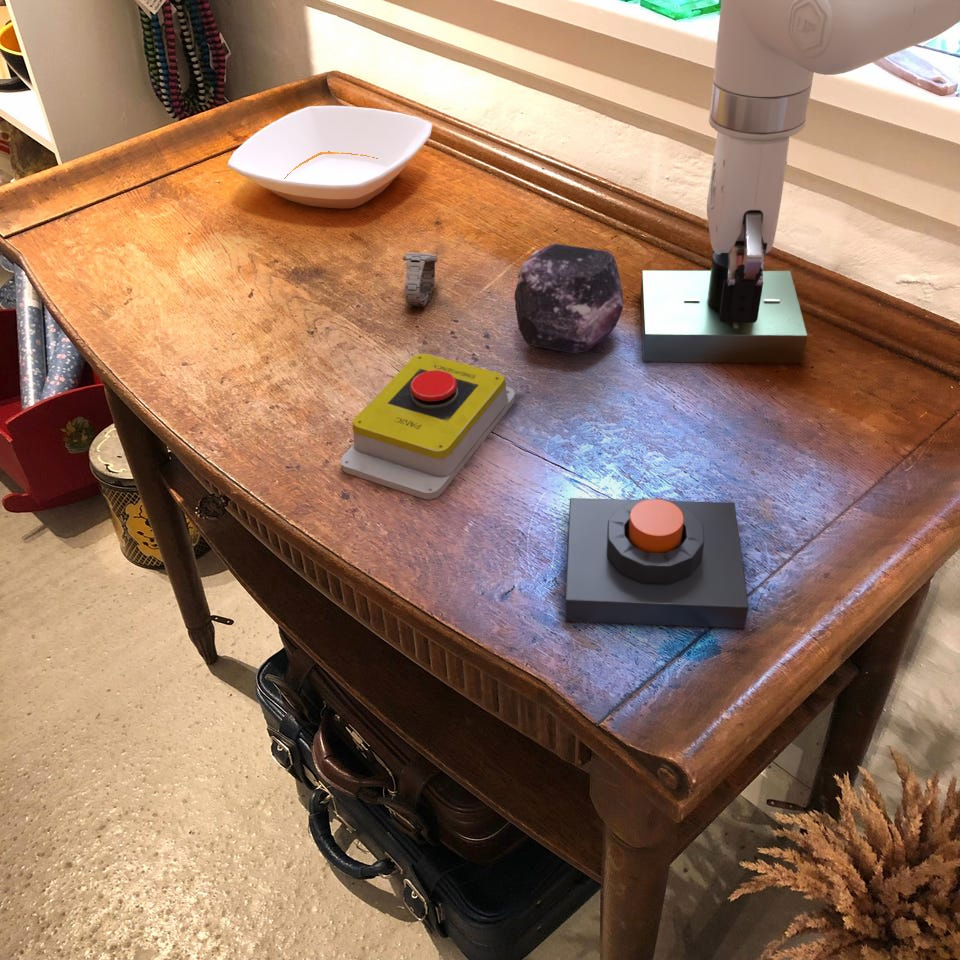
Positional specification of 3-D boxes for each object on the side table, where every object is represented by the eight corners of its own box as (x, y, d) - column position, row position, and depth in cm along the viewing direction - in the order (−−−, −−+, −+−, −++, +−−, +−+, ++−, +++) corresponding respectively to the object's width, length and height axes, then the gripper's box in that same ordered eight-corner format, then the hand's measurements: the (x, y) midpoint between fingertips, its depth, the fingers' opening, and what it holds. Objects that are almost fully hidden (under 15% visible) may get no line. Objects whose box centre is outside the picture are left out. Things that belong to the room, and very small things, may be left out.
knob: (706, 287, 91) (711, 241, 88) (754, 288, 90) (761, 242, 87) (708, 313, 88) (714, 266, 84) (758, 314, 87) (766, 267, 84)
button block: (731, 523, 72) (737, 484, 69) (744, 628, 65) (752, 589, 62) (569, 518, 74) (570, 479, 71) (565, 621, 66) (565, 582, 63)
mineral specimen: (584, 277, 96) (607, 207, 87) (624, 363, 92) (653, 299, 83) (492, 297, 93) (506, 227, 84) (528, 386, 89) (547, 323, 80)
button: (680, 517, 68) (682, 499, 67) (683, 554, 65) (685, 536, 64) (628, 515, 68) (629, 497, 67) (629, 552, 66) (630, 534, 64)
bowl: (456, 159, 122) (453, 118, 118) (371, 239, 108) (365, 195, 104) (310, 138, 129) (303, 98, 126) (213, 210, 115) (202, 168, 112)
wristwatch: (444, 283, 100) (440, 239, 97) (430, 316, 95) (425, 271, 92) (411, 281, 101) (406, 238, 97) (395, 314, 96) (389, 269, 93)
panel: (785, 297, 94) (790, 269, 92) (802, 363, 86) (808, 334, 84) (640, 297, 96) (642, 268, 94) (643, 361, 88) (645, 332, 86)
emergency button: (518, 354, 82) (429, 460, 73) (519, 395, 85) (434, 502, 76) (424, 330, 86) (328, 428, 76) (428, 370, 89) (336, 469, 79)
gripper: (704, 65, 84) (686, 244, 95) (718, 150, 71) (696, 344, 82) (793, 63, 83) (765, 244, 94) (824, 149, 70) (787, 346, 81)
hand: (733, 291), depth 88 cm, fingers open, 9 cm apart
